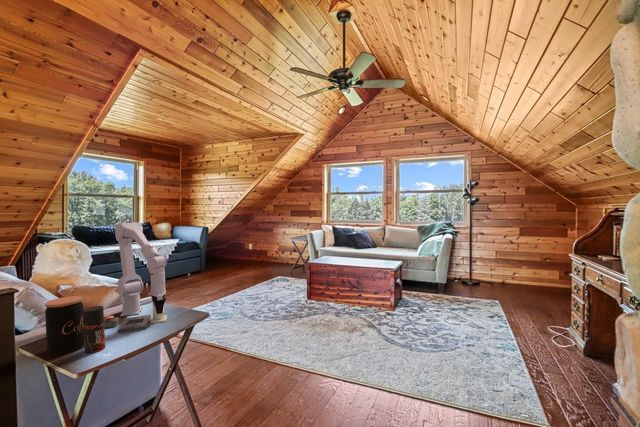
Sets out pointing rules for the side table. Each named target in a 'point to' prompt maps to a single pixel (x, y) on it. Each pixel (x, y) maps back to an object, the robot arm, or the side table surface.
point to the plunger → (109, 318)
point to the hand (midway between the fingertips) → (159, 311)
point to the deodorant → (94, 329)
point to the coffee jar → (64, 325)
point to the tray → (159, 319)
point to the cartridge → (157, 316)
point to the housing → (126, 327)
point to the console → (111, 323)
